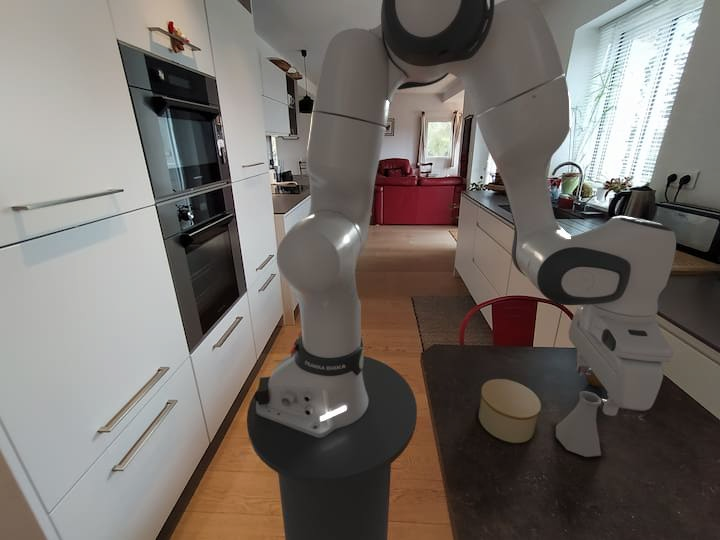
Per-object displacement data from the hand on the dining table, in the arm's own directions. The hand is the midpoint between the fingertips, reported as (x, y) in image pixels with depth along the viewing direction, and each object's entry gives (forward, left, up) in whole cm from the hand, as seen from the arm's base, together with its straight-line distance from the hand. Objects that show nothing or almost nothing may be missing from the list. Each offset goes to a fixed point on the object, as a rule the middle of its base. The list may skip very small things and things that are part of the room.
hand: (594, 391), depth 56 cm
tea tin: (-12, +2, -11) cm, 17 cm away
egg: (+10, +18, -11) cm, 23 cm away
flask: (0, 0, -11) cm, 11 cm away
